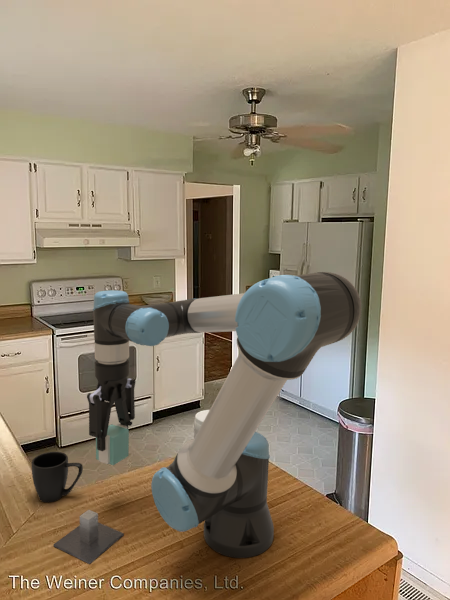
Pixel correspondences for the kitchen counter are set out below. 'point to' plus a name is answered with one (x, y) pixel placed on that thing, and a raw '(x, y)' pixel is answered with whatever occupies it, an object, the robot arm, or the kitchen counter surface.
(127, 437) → the teal rectangular block
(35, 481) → the mug
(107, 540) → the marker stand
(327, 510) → the kitchen counter surface
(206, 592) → the kitchen counter surface
